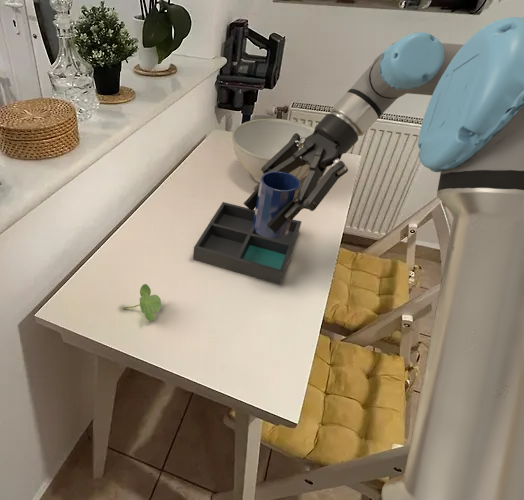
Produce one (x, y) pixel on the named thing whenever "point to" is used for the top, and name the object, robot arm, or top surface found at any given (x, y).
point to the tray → (245, 245)
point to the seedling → (148, 302)
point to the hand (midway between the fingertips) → (259, 217)
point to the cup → (274, 201)
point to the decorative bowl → (266, 143)
